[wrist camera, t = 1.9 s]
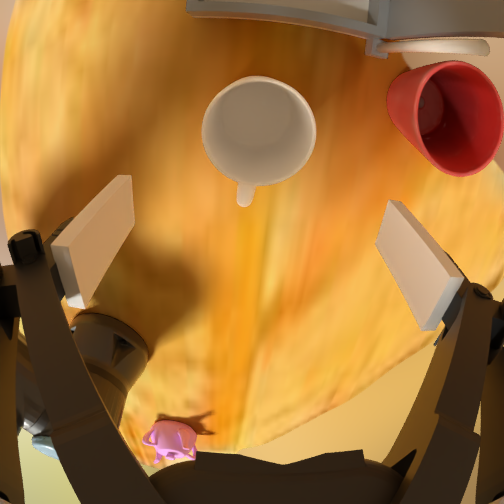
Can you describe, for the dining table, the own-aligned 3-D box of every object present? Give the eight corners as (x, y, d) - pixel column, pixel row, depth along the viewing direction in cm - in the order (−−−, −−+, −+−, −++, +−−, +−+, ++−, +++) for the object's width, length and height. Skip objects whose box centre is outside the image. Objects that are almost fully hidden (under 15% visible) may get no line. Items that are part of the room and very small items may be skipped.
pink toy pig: (158, 436, 71) (154, 464, 64) (143, 412, 64) (136, 444, 56) (202, 439, 71) (199, 468, 63) (192, 417, 63) (188, 450, 56)
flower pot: (412, 38, 24) (463, 36, 16) (466, 109, 28) (518, 129, 20) (353, 99, 29) (390, 113, 21) (414, 165, 33) (457, 200, 24)
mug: (279, 189, 35) (289, 236, 26) (205, 177, 34) (189, 220, 25) (305, 85, 28) (328, 92, 20) (223, 69, 27) (211, 68, 19)
